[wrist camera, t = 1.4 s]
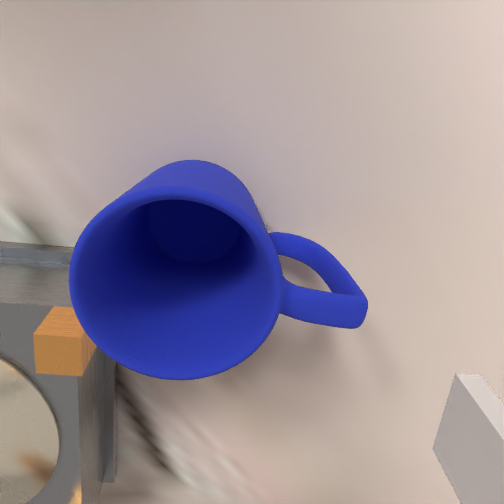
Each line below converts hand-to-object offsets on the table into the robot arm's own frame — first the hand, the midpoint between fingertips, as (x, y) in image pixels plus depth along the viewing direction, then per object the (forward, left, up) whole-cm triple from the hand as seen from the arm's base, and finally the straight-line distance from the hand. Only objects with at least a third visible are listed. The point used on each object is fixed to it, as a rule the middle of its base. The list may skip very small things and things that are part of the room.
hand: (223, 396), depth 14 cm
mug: (0, 0, -16) cm, 16 cm away
